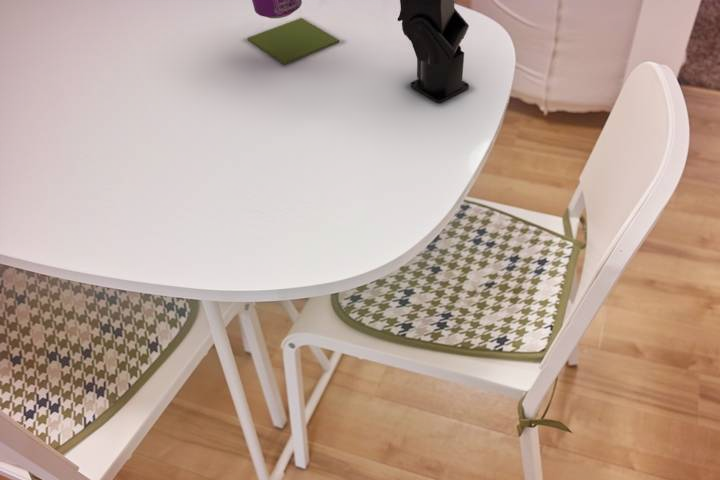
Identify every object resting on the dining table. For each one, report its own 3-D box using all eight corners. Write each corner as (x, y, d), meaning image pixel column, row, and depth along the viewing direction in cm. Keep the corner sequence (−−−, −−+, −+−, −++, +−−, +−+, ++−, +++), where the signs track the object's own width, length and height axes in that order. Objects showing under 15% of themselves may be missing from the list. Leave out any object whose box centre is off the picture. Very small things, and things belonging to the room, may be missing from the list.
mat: (339, 42, 102) (339, 39, 102) (284, 64, 97) (284, 62, 97) (301, 20, 108) (301, 17, 107) (247, 40, 103) (247, 37, 102)
